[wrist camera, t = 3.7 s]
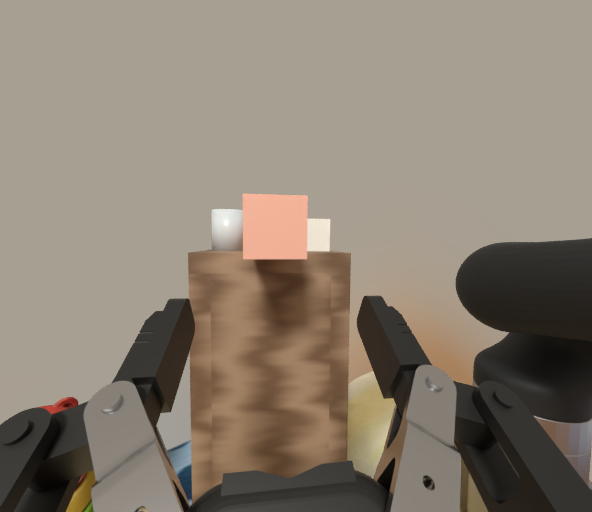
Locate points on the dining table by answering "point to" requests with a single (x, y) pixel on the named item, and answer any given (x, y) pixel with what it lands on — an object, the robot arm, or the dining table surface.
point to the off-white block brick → (318, 234)
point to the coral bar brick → (275, 226)
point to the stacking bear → (82, 501)
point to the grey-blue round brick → (227, 230)
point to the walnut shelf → (267, 364)
